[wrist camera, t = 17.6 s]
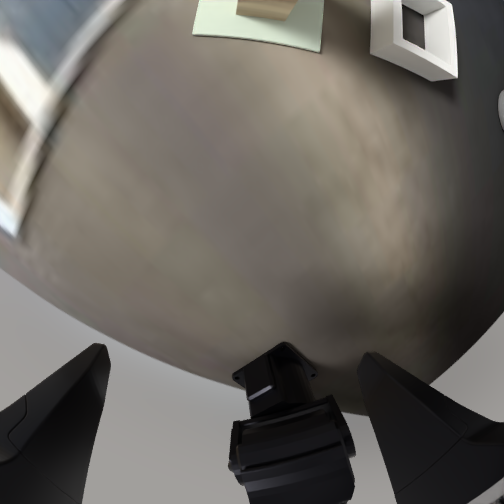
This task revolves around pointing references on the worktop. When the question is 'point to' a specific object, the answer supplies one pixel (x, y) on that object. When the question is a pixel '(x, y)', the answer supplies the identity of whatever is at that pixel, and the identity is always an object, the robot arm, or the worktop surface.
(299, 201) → the worktop surface
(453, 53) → the holder box
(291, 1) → the tall tan tower
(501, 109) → the travel mug
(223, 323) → the worktop surface
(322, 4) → the mat
